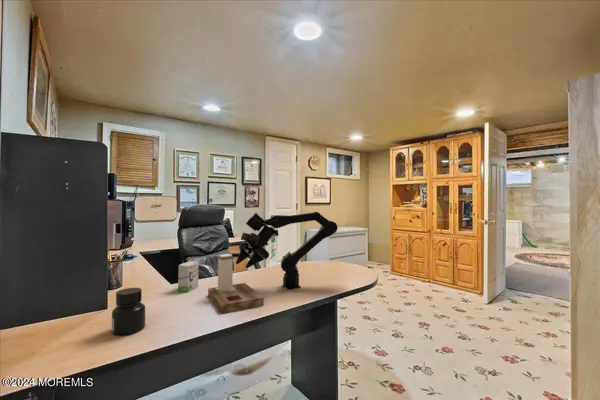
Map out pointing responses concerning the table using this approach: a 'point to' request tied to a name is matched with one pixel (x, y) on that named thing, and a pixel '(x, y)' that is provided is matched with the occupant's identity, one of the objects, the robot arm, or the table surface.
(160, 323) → the table surface
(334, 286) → the table surface
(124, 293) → the ink bottle
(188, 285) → the ink box
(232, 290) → the board
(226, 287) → the plug
